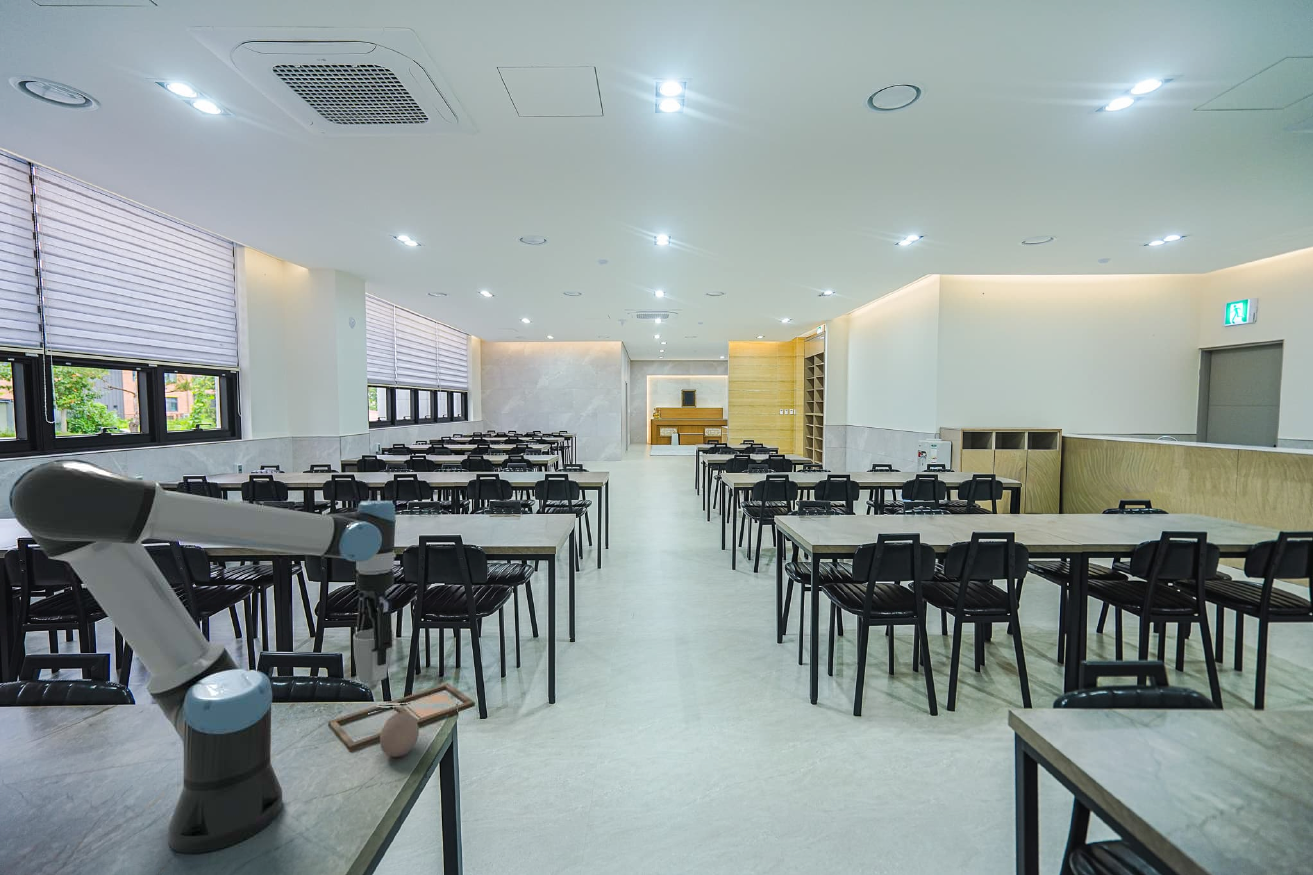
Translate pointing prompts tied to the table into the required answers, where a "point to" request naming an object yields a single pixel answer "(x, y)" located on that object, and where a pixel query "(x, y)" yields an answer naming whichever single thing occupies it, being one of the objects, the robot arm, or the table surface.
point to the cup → (367, 654)
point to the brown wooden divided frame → (369, 740)
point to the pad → (426, 712)
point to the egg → (399, 734)
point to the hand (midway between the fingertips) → (372, 672)
